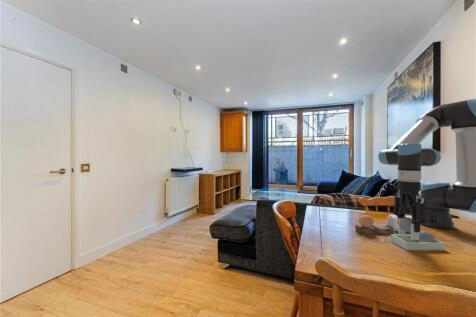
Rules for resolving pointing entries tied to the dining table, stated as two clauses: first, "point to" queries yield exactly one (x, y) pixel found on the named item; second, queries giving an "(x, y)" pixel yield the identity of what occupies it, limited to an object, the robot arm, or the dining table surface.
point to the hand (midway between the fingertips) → (408, 236)
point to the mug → (394, 221)
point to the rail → (374, 229)
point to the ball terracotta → (366, 221)
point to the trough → (416, 243)
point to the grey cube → (405, 224)
